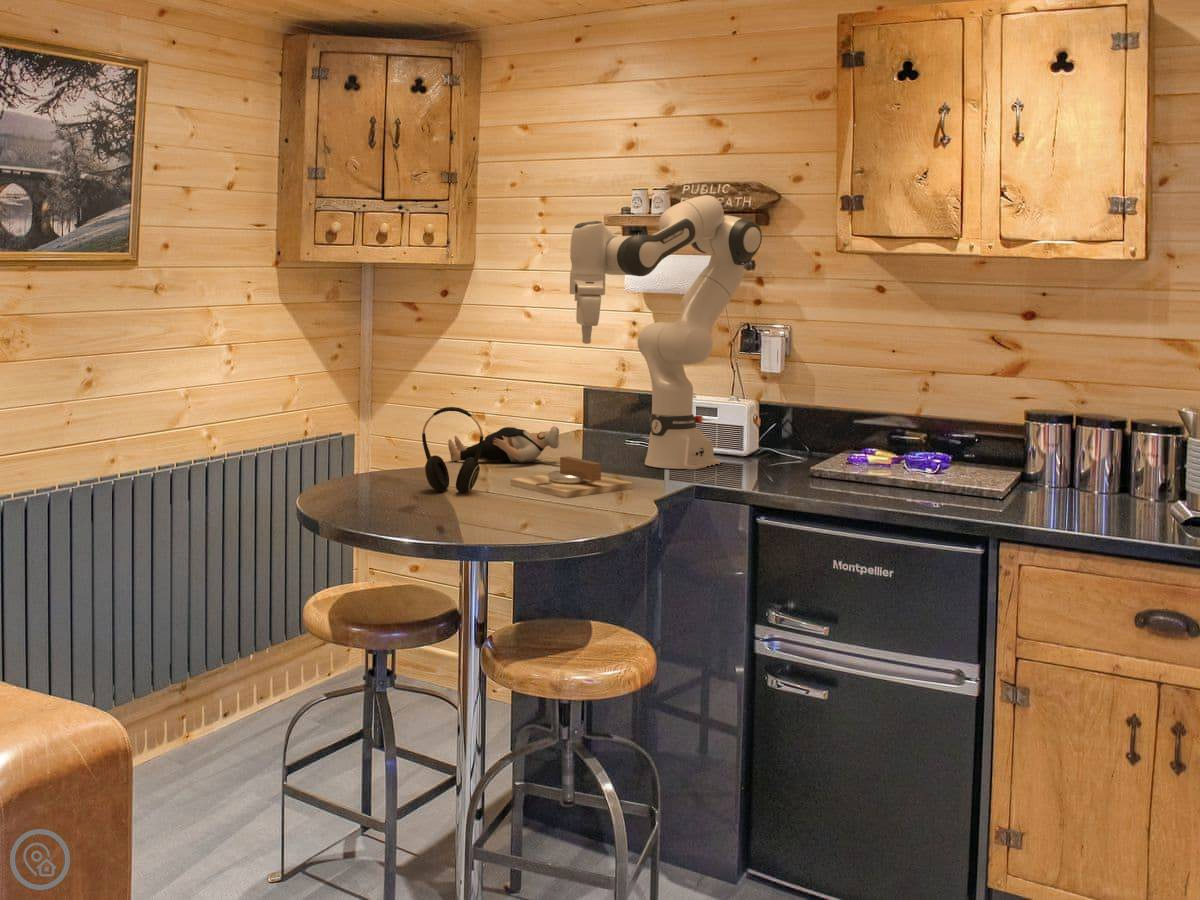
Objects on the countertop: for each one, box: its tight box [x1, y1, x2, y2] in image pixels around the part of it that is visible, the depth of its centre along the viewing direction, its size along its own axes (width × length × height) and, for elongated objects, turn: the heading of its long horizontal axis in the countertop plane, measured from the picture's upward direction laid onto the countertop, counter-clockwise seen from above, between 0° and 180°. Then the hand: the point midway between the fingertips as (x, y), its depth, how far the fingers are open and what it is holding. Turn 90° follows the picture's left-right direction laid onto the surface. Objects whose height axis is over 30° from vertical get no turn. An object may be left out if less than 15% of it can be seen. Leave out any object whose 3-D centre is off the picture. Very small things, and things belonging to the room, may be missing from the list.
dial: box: [548, 456, 602, 483], centre depth 270 cm, size 16×11×5 cm
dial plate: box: [509, 473, 633, 499], centre depth 272 cm, size 21×21×2 cm
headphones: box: [421, 406, 484, 494], centre depth 261 cm, size 9×15×20 cm, turn 80°
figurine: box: [447, 425, 560, 463], centre depth 309 cm, size 23×10×30 cm
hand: (586, 343), depth 280 cm, fingers closed
